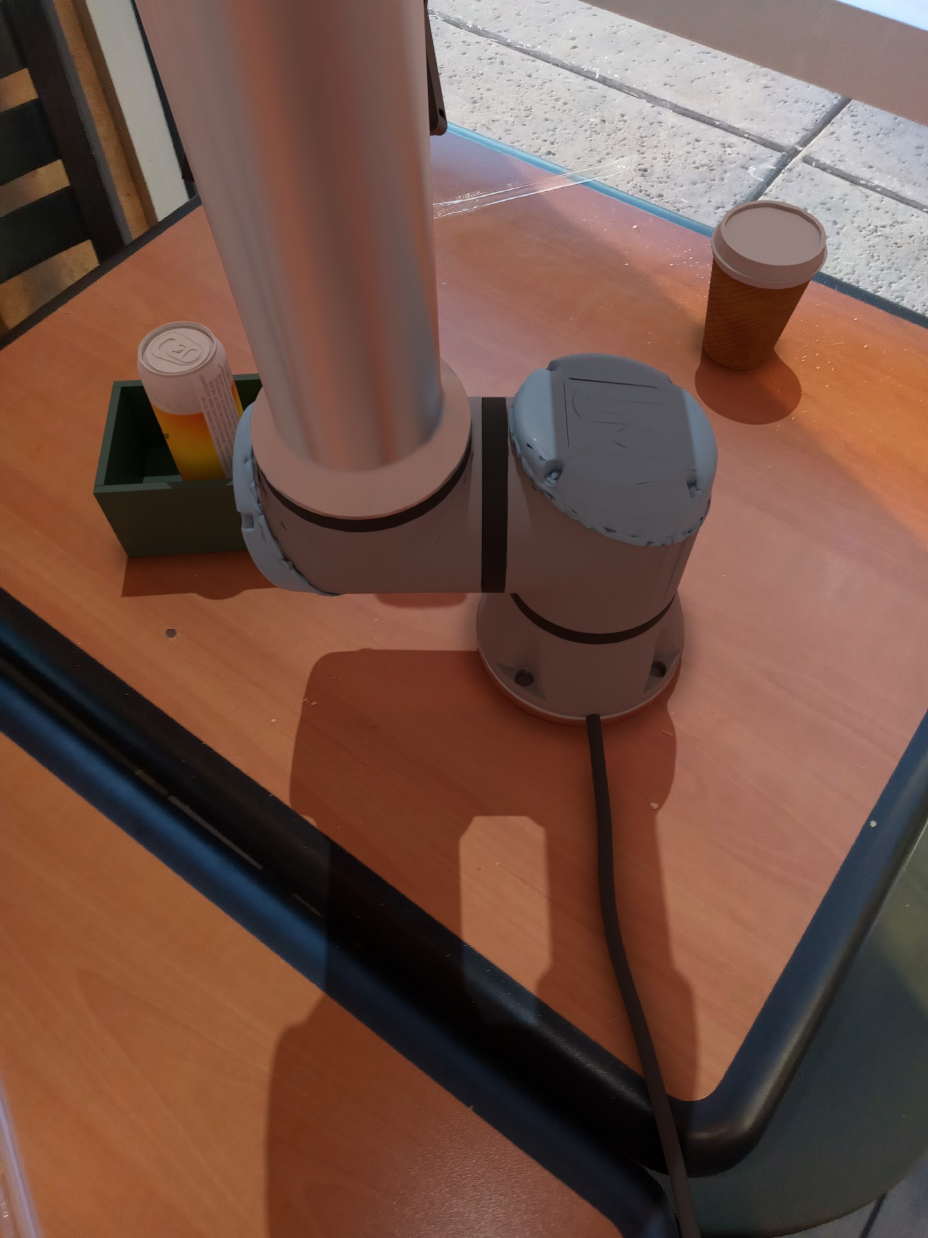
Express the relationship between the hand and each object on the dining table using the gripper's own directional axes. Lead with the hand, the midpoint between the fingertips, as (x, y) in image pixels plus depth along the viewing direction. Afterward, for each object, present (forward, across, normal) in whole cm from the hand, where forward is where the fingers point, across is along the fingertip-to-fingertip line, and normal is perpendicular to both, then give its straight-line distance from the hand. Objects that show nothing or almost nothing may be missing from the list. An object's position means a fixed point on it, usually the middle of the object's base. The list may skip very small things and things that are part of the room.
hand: (282, 208), depth 65 cm
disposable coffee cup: (+2, -35, -26) cm, 43 cm away
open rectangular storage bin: (+23, +1, -2) cm, 23 cm away
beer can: (+22, +1, -1) cm, 22 cm away
